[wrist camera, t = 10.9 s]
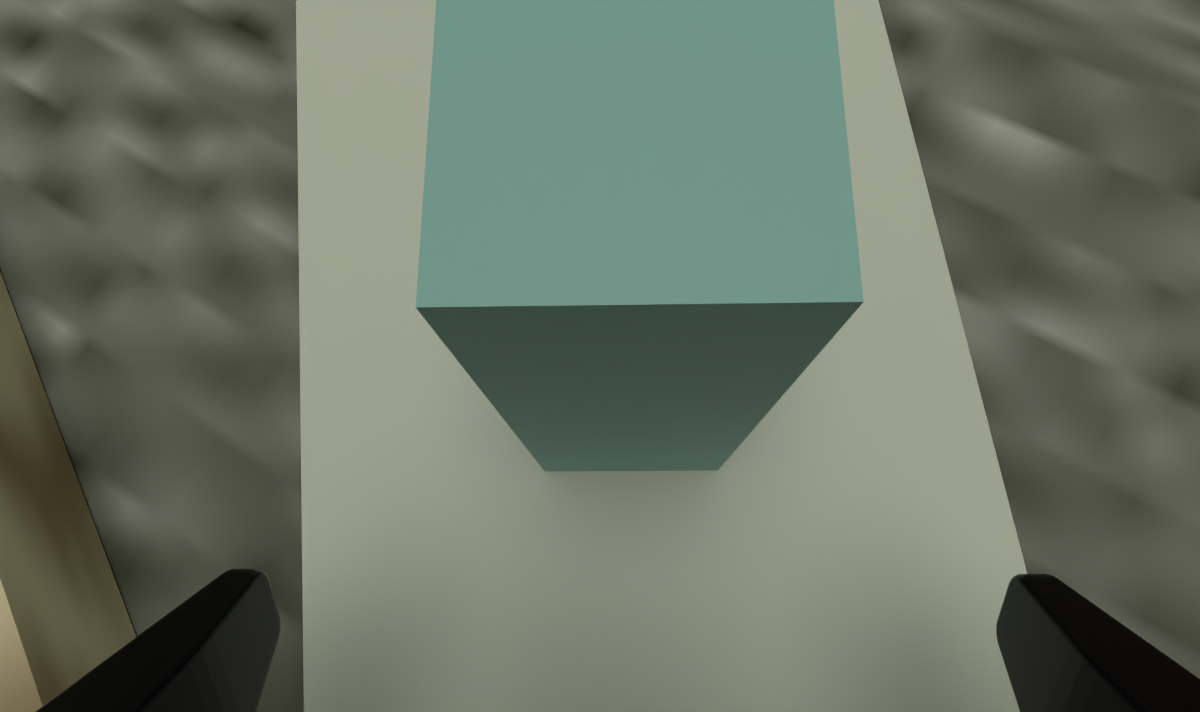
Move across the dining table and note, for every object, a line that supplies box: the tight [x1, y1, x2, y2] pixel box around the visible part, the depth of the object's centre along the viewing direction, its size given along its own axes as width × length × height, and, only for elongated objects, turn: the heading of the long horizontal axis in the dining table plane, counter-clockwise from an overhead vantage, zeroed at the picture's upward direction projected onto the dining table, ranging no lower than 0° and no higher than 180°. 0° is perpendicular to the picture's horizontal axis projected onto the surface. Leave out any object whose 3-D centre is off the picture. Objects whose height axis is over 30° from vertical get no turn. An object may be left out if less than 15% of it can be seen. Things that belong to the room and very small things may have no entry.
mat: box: [296, 0, 1027, 712], centre depth 17 cm, size 20×14×1 cm
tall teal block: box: [416, 0, 864, 471], centre depth 12 cm, size 5×4×10 cm
